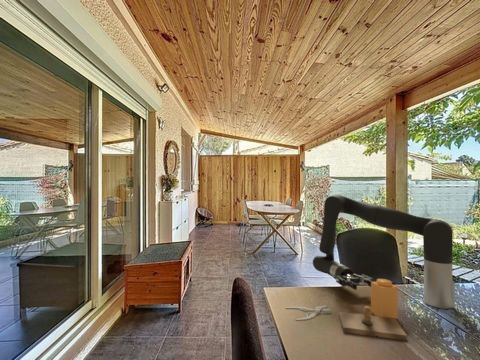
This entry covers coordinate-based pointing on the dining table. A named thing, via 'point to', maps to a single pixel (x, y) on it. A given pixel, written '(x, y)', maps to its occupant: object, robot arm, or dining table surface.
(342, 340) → the dining table surface
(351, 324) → the board
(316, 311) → the pliers
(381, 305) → the orange toy brick
